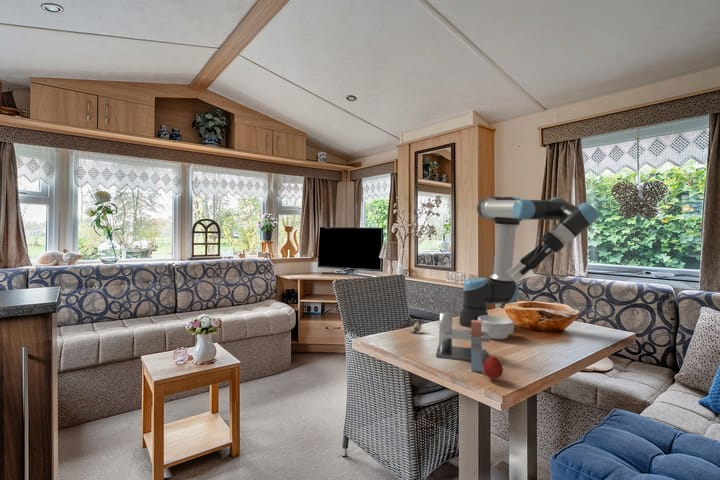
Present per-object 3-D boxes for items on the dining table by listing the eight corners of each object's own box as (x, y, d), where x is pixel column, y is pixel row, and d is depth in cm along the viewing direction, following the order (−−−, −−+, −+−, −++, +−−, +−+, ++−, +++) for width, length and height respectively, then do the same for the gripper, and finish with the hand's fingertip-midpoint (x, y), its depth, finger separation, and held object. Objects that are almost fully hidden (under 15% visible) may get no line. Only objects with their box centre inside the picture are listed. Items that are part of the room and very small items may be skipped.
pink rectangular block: (480, 352, 133) (481, 320, 132) (480, 355, 129) (481, 322, 129) (470, 351, 134) (471, 319, 133) (470, 354, 130) (471, 322, 130)
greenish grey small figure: (415, 330, 167) (416, 317, 166) (425, 333, 163) (426, 320, 163) (408, 332, 163) (410, 319, 162) (418, 335, 159) (420, 322, 159)
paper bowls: (517, 342, 149) (518, 324, 149) (480, 340, 151) (480, 322, 151) (508, 332, 164) (508, 315, 164) (474, 331, 166) (475, 314, 166)
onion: (486, 374, 114) (486, 350, 114) (504, 379, 110) (505, 354, 110) (479, 380, 109) (480, 354, 109) (498, 385, 106) (499, 359, 105)
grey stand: (487, 352, 136) (488, 313, 136) (491, 373, 115) (492, 327, 115) (438, 347, 141) (439, 309, 141) (433, 366, 120) (434, 322, 120)
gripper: (574, 247, 116) (523, 289, 121) (556, 244, 140) (514, 279, 145) (557, 231, 118) (507, 273, 123) (542, 231, 141) (501, 266, 146)
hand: (511, 277), depth 134 cm, fingers open, 13 cm apart
